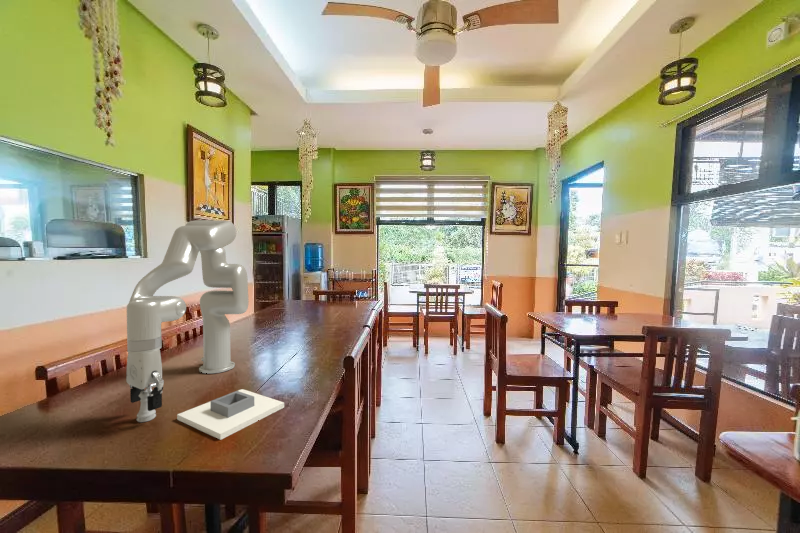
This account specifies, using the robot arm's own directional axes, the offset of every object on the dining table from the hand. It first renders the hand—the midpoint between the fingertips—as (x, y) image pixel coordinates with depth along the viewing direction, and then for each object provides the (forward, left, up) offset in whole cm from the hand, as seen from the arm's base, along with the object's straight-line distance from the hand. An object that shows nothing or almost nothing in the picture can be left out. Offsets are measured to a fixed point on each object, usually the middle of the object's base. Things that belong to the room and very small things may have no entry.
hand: (146, 404), depth 91 cm
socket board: (+18, +14, -4) cm, 23 cm away
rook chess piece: (0, 0, -4) cm, 4 cm away
